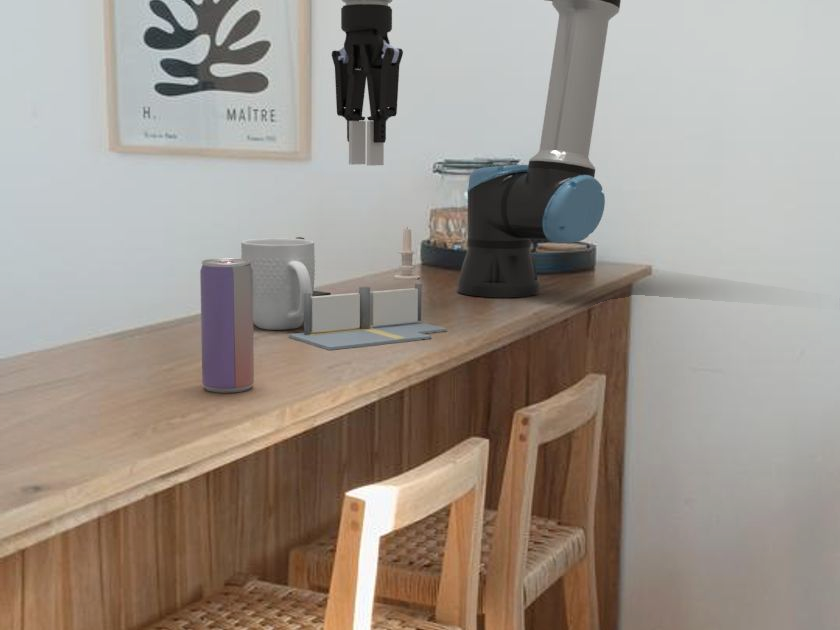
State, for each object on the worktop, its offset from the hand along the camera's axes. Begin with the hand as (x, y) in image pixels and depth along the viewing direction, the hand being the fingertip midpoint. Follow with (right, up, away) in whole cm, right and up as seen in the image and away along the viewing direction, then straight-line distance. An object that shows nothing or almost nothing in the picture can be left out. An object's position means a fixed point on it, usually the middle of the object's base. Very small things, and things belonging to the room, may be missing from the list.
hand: (366, 164), depth 182 cm
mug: (-13, -25, +1) cm, 28 cm away
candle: (+5, -16, +60) cm, 62 cm away
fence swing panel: (+5, -24, +2) cm, 24 cm away
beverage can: (-14, -31, -40) cm, 53 cm away
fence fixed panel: (-4, -26, -4) cm, 26 cm away
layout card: (+2, -26, -5) cm, 26 cm away
